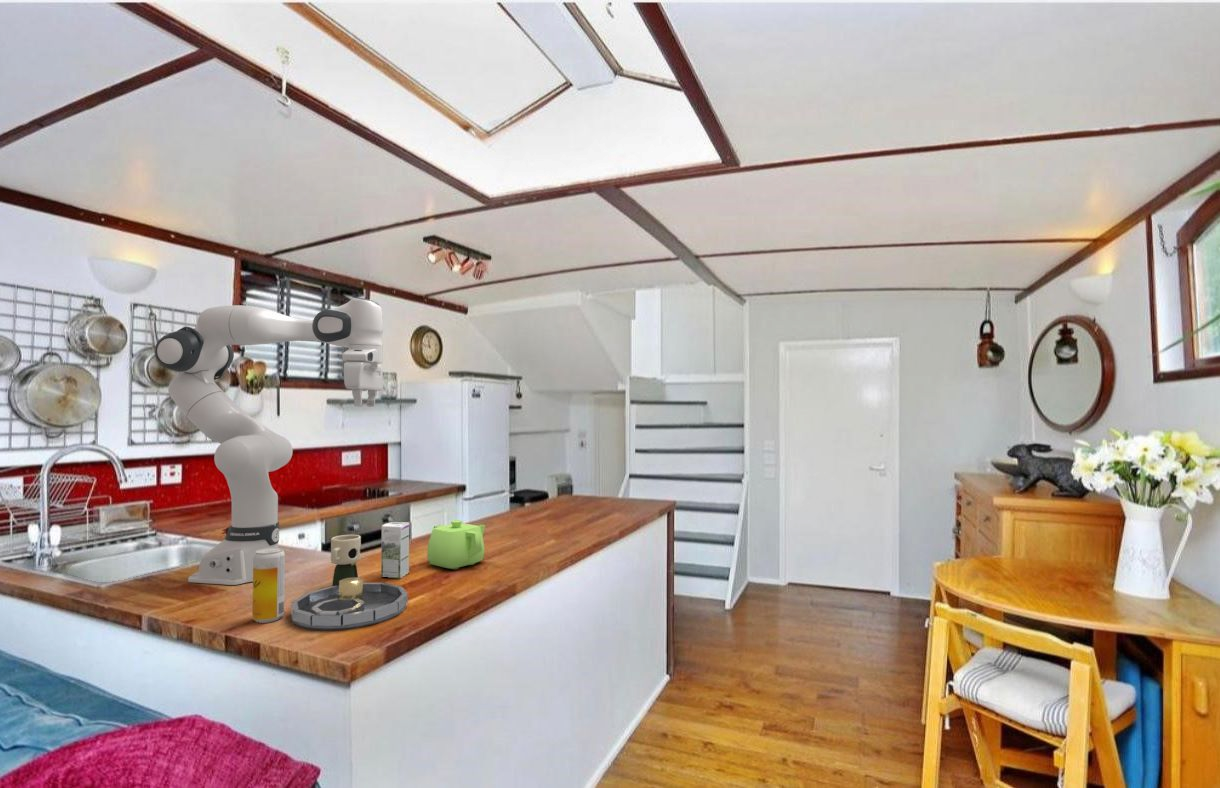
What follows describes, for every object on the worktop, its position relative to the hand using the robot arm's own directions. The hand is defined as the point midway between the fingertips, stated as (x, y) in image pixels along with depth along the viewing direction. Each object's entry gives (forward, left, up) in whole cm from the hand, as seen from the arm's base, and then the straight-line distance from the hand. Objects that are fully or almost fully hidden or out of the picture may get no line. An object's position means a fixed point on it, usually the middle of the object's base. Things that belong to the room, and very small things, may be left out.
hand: (364, 406), depth 166 cm
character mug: (0, -10, -47) cm, 48 cm away
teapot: (+24, +15, -47) cm, 55 cm away
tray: (+9, -28, -47) cm, 55 cm away
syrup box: (+9, +1, -47) cm, 48 cm away
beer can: (-7, -33, -47) cm, 58 cm away
